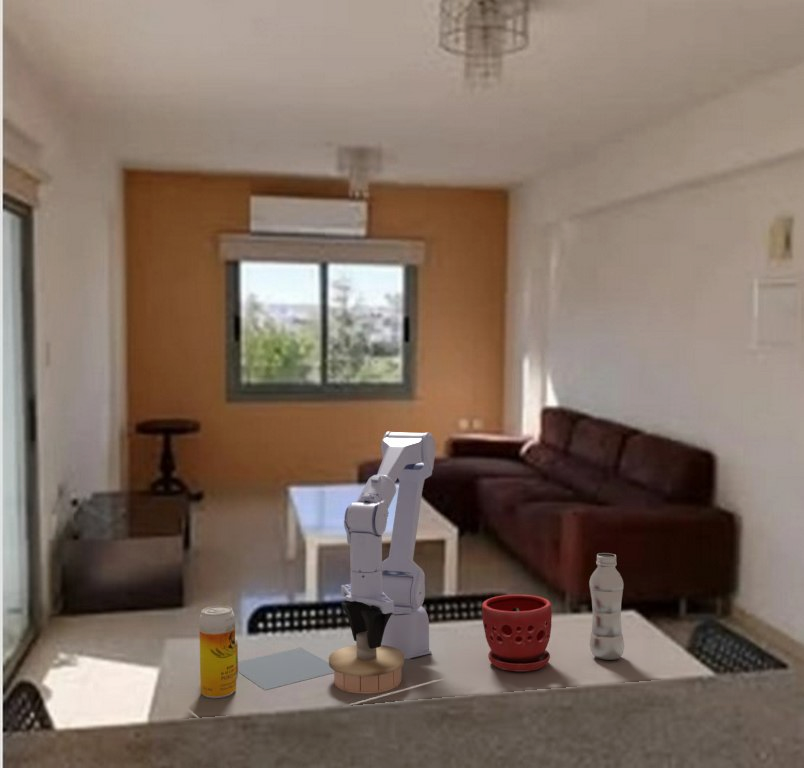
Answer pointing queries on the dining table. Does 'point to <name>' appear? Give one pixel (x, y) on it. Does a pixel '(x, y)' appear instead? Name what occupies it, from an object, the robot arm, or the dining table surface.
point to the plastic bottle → (606, 609)
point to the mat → (283, 668)
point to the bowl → (368, 682)
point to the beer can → (217, 651)
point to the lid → (366, 659)
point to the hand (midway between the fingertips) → (367, 643)
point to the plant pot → (517, 631)
